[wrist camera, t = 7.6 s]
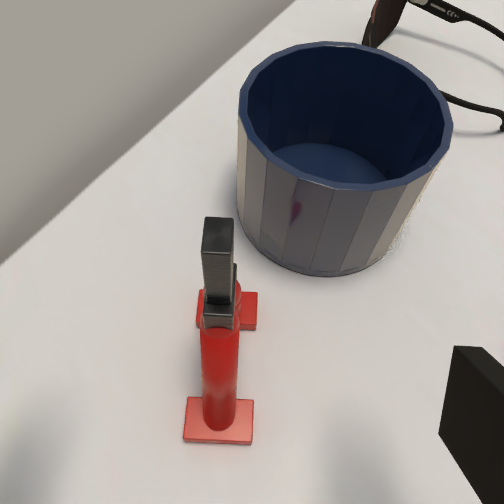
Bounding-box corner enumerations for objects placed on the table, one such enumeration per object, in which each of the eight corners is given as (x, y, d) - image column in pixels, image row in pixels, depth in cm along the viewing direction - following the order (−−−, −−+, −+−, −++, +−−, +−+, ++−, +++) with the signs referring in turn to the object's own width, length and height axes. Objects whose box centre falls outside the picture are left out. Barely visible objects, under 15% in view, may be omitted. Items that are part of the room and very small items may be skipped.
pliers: (184, 441, 20) (139, 363, 10) (200, 295, 24) (178, 134, 14) (251, 445, 20) (270, 370, 10) (256, 298, 24) (274, 140, 14)
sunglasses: (371, 20, 37) (398, -43, 33) (507, 78, 36) (554, 22, 32) (330, 98, 32) (356, 36, 28) (488, 168, 31) (540, 116, 27)
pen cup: (232, 272, 25) (232, 183, 18) (241, 141, 30) (244, 35, 23) (410, 281, 25) (473, 196, 18) (389, 149, 30) (432, 47, 23)
